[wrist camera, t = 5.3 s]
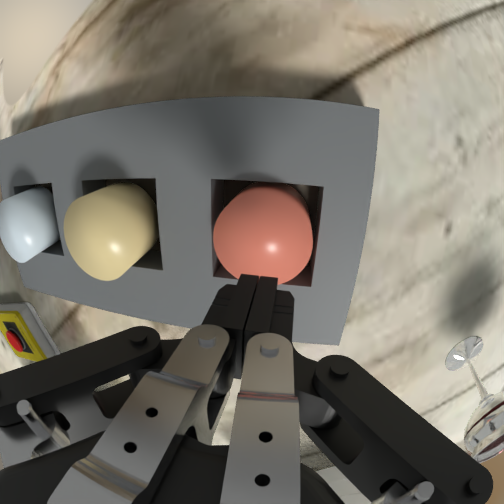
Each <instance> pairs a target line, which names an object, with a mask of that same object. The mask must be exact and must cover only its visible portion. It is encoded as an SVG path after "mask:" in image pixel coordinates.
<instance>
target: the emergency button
mask: <svg viewBox="0 0 504 504" xmlns="http://www.w3.org/2000/svg"><path fill="white" fill-rule="evenodd" d="M0 330H1V332H2V333H3V335H4V337H5V338H6V340H7V342H8V343H9V345H10V346H11V348H12V350H13V351H14V353H15V354H16V355H17V356H18V357H21V358H25V359H28V360H32V361H36V362H38V361H41V360H44V359H47V358H50V357H53V356H54V355H58V354H60V351H59V349H58V347H57V346H56V344H55V343H54V341H53V340H52V338H51V336H50V335H49V333H48V331H47V330H46V328H45V326H44V324H43V323H42V321H41V319H40V317H39V315H38V314H37V312H36V310H35V308H34V307H33V305H32V304H31V303H29V302H24V303H7V304H0Z"/></svg>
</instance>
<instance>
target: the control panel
mask: <svg viewBox="0 0 504 504" xmlns="http://www.w3.org/2000/svg"><path fill="white" fill-rule="evenodd" d="M378 126H379V109H375V108H370V107H364V106H358V105H351V104H344V103H337V102H329V101H320V100H310V99H298V98H282V97H251V96H235V97H204V98H188V99H176V100H166V101H157V102H149V103H142V104H135V105H129V106H123V107H117V108H112V109H106V110H101V111H97V112H92V113H87V114H83V115H79V116H75V117H71V118H67V119H63V120H60V121H56V122H53V123H49V124H46V125H43V126H39V127H36V128H33V129H30V130H27V131H24V132H22V133H19V134H16V135H13V136H11V137H8V138H5V139H3V140H0V184H1V192H2V198H3V200H5V199H7V198H9V197H12V196H14V195H16V194H19V193H21V192H24V191H26V190H29V189H32V188H34V187H36V186H35V184H42V183H52V190H53V198H54V205H55V211H56V217H57V223H58V228H59V234H60V238H61V240H58V241H57V242H56V243H54V244H53V245H51V246H50V247H48V248H46V249H45V250H43V251H42V252H40V253H39V254H37V255H35V256H34V257H32V258H31V259H29V260H28V261H26V262H25V263H20V262H17V261H16V262H17V265H18V268H19V272H20V275H21V278H22V281H23V284H24V287H27V288H30V289H33V290H36V291H39V292H42V293H45V294H48V295H52V296H55V297H58V298H62V299H65V300H69V301H72V302H76V303H79V304H83V305H87V306H90V307H94V308H98V309H102V310H106V311H110V312H114V313H118V314H123V315H127V316H131V317H136V318H141V319H145V320H150V321H155V322H160V323H165V324H170V325H175V326H181V327H186V328H193V327H196V326H199V325H201V324H202V322H203V320H204V318H205V316H206V314H207V312H208V310H209V308H210V306H211V305H212V302H213V300H214V299H215V296H216V294H217V292H218V290H219V289H220V288H222V287H223V286H225V285H226V284H233V285H237V282H238V280H239V279H237V278H236V277H234V276H233V275H232V274H231V273H229V272H228V271H227V270H226V269H225V267H224V266H223V265H222V264H221V262H220V260H219V259H218V257H217V254H216V252H215V248H214V243H213V232H214V226H215V224H216V221H217V219H218V217H219V215H220V213H221V212H222V211H223V209H224V179H227V180H247V181H264V182H278V183H290V184H302V185H312V186H319V193H318V203H317V212H316V222H315V230H314V239H313V248H312V255H311V262H310V266H307V265H306V266H305V267H304V269H303V270H302V271H301V272H300V273H299V274H298V275H297V276H296V277H294V278H293V279H291V280H289V281H287V282H285V283H282V284H279V285H278V286H277V290H284V291H290V292H291V294H292V295H293V297H294V299H295V301H294V318H293V333H292V342H299V343H311V344H325V345H339V343H340V340H341V336H342V333H343V329H344V325H345V322H346V318H347V314H348V310H349V306H350V302H351V298H352V294H353V290H354V286H355V282H356V277H357V273H358V268H359V263H360V258H361V253H362V248H363V243H364V238H365V232H366V226H367V221H368V214H369V208H370V201H371V194H372V187H373V179H374V170H375V161H376V151H377V140H378ZM130 178H156V196H157V211H158V224H159V235H160V246H161V251H157V250H149V251H148V252H147V253H146V254H144V255H143V256H142V257H141V258H140V259H139V260H138V261H137V262H136V263H135V264H133V265H132V266H131V267H130V268H129V269H128V270H127V271H126V272H125V273H124V274H123V275H122V276H120V277H119V278H117V279H115V280H111V281H103V280H99V279H96V278H94V277H92V276H90V275H89V274H87V273H86V272H85V271H83V270H82V269H81V268H80V267H79V266H78V264H77V263H76V262H75V260H74V259H73V257H72V256H71V254H70V252H69V250H68V247H67V244H66V241H65V237H64V218H65V214H66V211H67V209H68V208H69V206H70V205H71V203H72V202H73V201H75V200H76V199H78V198H80V197H82V196H85V195H87V194H89V193H92V192H94V191H97V190H99V189H102V188H104V187H106V181H105V179H130Z"/></svg>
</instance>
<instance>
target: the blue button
mask: <svg viewBox="0 0 504 504" xmlns="http://www.w3.org/2000/svg"><path fill="white" fill-rule="evenodd" d="M0 237H1V240H2V243H3V245H4V247H5V249H6V250H7V252H8V253H9V254H10V256H11V257H12V258H13V259H14V260H16V261H17V262H20V263H25V262H26V261H28V260H29V259H31V258H32V257H34V256H35V255H37V254H39V253H40V252H42V251H43V250H45V249H46V248H48V247H50V246H51V245H53V244H54V243H56V242H57V241H58V240H59V238H60V234H59V228H58V223H57V217H56V211H55V205H54V198H53V195H52V193H51V192H50V191H49V190H48V189H46V188H44V187H42V186H37V187H34V188H32V189H29V190H26V191H24V192H21V193H19V194H16V195H14V196H12V197H9V198H7V199H5V200H3V201H2V202H1V203H0Z"/></svg>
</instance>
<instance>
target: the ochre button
mask: <svg viewBox="0 0 504 504" xmlns="http://www.w3.org/2000/svg"><path fill="white" fill-rule="evenodd" d="M158 236H159V224H158V211H157V207H156V205H155V203H154V201H153V200H152V198H151V197H150V196H149V194H148V193H147V192H146V191H145V190H144V189H142V188H141V187H139V186H138V185H136V184H133V183H130V182H118V183H114V184H112V185H109V186H107V187H104V188H102V189H99V190H97V191H94V192H92V193H89V194H87V195H85V196H82V197H80V198H78V199H76V200H75V201H73V202H72V203H71V205H70V206H69V208H68V209H67V211H66V214H65V218H64V237H65V241H66V244H67V247H68V250H69V252H70V254H71V256H72V257H73V259H74V260H75V262H76V263H77V264H78V266H79V267H80V268H81V269H82V270H83V271H85V272H86V273H87V274H89V275H90V276H92V277H94V278H96V279H99V280H103V281H111V280H115V279H117V278H119V277H120V276H122V275H123V274H124V273H125V272H126V271H127V270H128V269H129V268H130V267H131V266H132V265H133V264H135V263H136V262H137V261H138V260H139V259H140V258H141V257H142V256H143V255H144V254H146V253H147V252H148V251H149V250H150V249H151V248H152V247H153V246H154V244H155V243H156V241H157V239H158Z"/></svg>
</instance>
